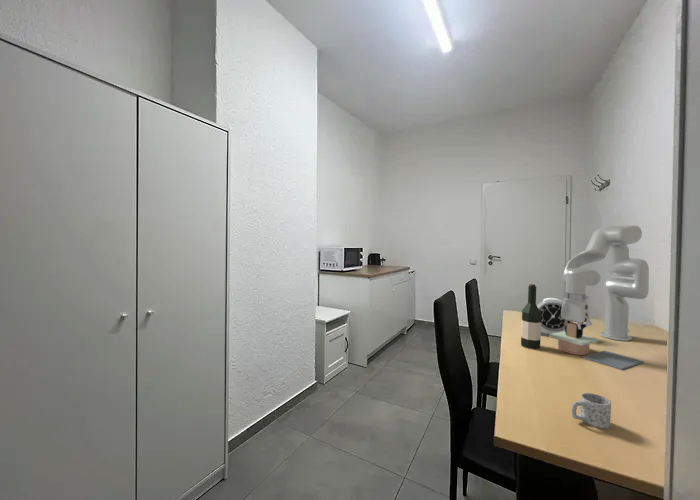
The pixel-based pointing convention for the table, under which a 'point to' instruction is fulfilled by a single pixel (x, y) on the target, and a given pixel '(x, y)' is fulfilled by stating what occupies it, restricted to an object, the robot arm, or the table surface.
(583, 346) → the bowl
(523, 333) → the wine bottle
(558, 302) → the alarm clock
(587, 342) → the lid
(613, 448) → the table surface
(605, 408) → the mug
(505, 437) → the table surface
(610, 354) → the mat
